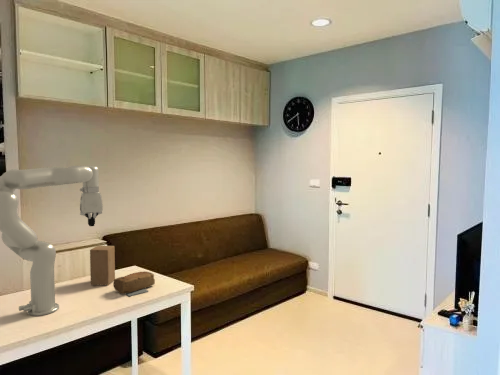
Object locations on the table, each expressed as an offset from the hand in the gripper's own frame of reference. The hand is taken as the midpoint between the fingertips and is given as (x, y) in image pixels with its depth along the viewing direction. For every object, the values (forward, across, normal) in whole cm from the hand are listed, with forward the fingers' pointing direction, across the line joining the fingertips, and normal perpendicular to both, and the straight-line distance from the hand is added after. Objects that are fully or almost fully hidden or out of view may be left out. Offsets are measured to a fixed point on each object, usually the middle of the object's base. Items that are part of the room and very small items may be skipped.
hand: (91, 225), depth 187 cm
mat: (+35, +17, -11) cm, 40 cm away
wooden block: (+35, +10, +12) cm, 39 cm away
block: (+31, +9, -11) cm, 34 cm away
